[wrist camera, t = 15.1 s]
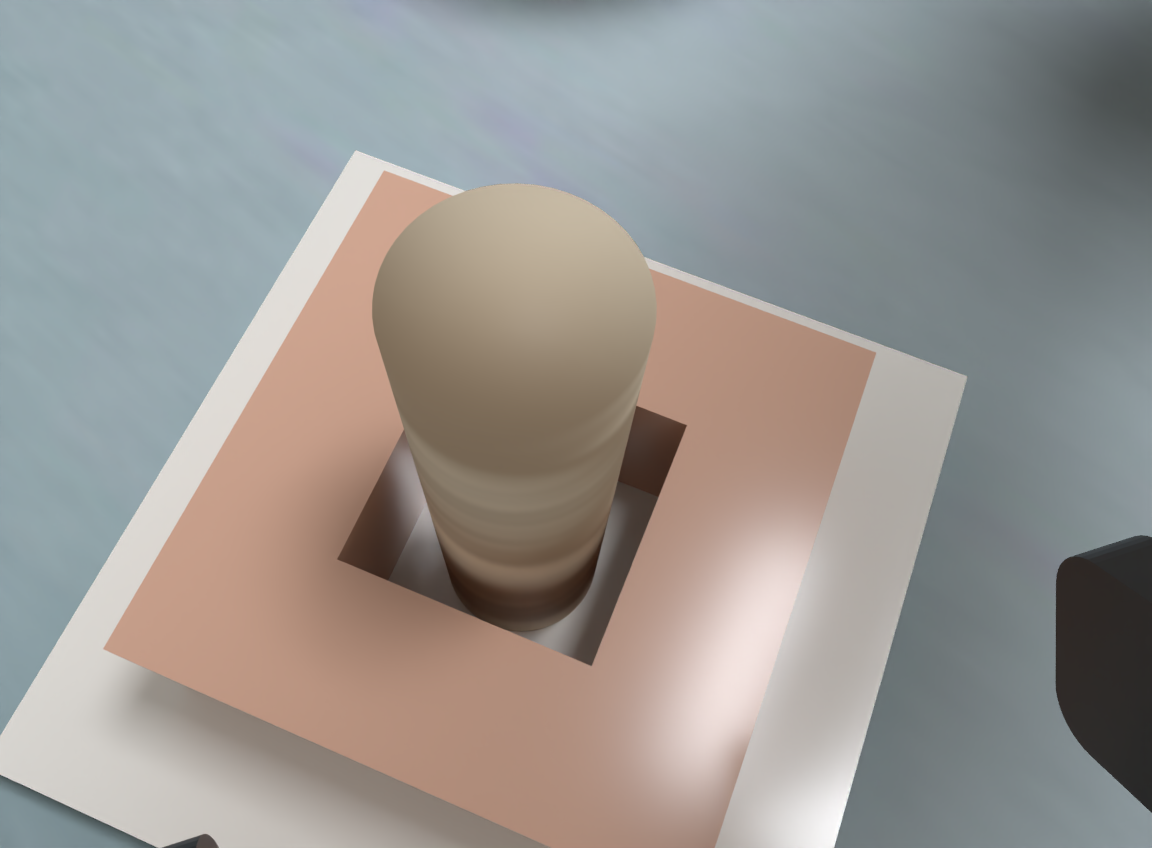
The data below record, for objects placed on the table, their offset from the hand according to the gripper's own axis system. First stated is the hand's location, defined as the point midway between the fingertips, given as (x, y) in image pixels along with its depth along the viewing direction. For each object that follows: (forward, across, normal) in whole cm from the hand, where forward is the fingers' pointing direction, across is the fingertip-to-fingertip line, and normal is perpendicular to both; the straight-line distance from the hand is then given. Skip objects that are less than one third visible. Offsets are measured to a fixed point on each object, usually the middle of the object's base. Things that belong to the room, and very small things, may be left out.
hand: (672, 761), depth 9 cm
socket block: (+14, 0, +6) cm, 15 cm away
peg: (+13, 0, +5) cm, 14 cm away
